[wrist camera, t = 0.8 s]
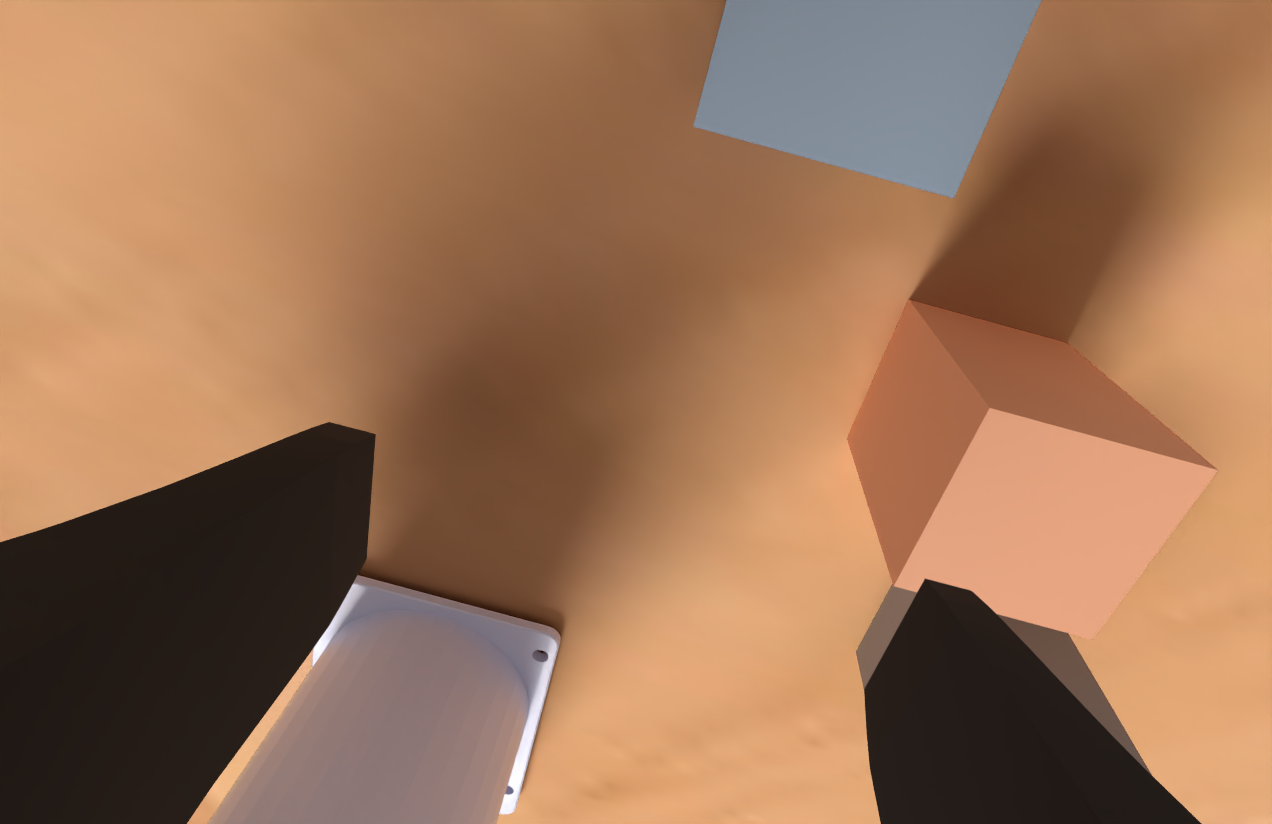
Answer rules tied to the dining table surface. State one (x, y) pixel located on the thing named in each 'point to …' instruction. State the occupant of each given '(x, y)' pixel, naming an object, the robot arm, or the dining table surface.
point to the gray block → (1041, 640)
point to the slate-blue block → (865, 81)
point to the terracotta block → (1015, 470)
